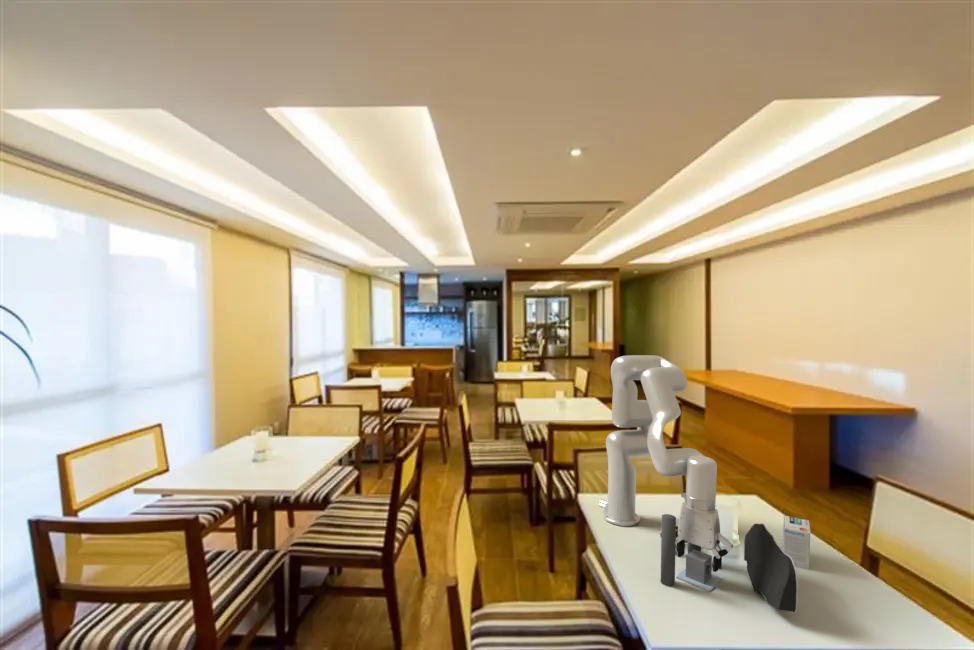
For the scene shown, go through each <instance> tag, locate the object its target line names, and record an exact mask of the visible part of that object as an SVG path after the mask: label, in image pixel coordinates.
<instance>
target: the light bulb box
mask: <svg viewBox="0 0 974 650" xmlns="http://www.w3.org/2000/svg"><path fill="white" fill-rule="evenodd" d="M810 526H811V525H810V521H809V519H804V518H803V519H802V518H798V517H794V516H788V515H783V528H782V530H783V531H782V550H783V551H784V552H785V553H786V554H787V555H789V556H790V557H791V558H792V560H793V562H794V565H795V567H797V568H801V569H805V570H810V558H811V557H810V552H811V527H810Z"/></svg>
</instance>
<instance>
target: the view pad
mask: <svg viewBox="0 0 974 650" xmlns="http://www.w3.org/2000/svg"><path fill="white" fill-rule="evenodd" d="M675 579H678V580H680V581H682V582H684V583H688V584H689V585H691V586H694V587H697V588H699V589H701V590H703V591H706V592H709V593H710V592H712V591H713V590H714V589H715V587H717V586H718V585H719V584H720V583H721V582H722V581H723V579H724V578H723V577H721V576H718V575H717V574H713V573H712V577H711V578H710V579H709V580H708V581H707V582H706V583H705V584H702V583H700V582H698V581H695V580H693V579H690V578H688V577H686V568H685V569H683V570H682V571H680V572H679V574H677V575H675Z"/></svg>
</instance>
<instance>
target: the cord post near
mask: <svg viewBox="0 0 974 650" xmlns="http://www.w3.org/2000/svg"><path fill="white" fill-rule="evenodd" d="M676 521H677V517H676V516H675V515H672V514H667V513H664V514H661V533H660V534H661V536H660V538H661V540H660V541H661V542H660V544H661V545H660V546H661V547H660V553H661V554H660V583H661V584H662V585H663V586H665V587H674V586H675V584H676V547H677V542H676V530H677V529H676Z"/></svg>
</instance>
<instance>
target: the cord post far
mask: <svg viewBox="0 0 974 650" xmlns="http://www.w3.org/2000/svg"><path fill="white" fill-rule="evenodd" d="M693 549H695V550H697V551H700V552H702V547H700V546H697V545H694V544H692V543H689V542H688V543H687V554H688V553H689V552H691V551H692V550H693Z"/></svg>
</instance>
